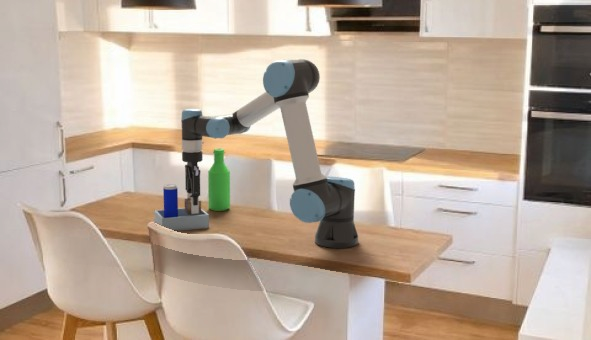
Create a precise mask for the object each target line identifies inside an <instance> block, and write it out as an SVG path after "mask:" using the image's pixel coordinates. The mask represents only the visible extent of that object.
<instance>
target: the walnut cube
mask: <svg viewBox="0 0 591 340" xmlns="http://www.w3.org/2000/svg"><path fill="white" fill-rule="evenodd" d="M184 208H185V212H186V213H187V214H188V215H191V198H188V199H187V198H184ZM201 209H202V200H201V199H200V198H199V213H197V214H201Z"/></svg>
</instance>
